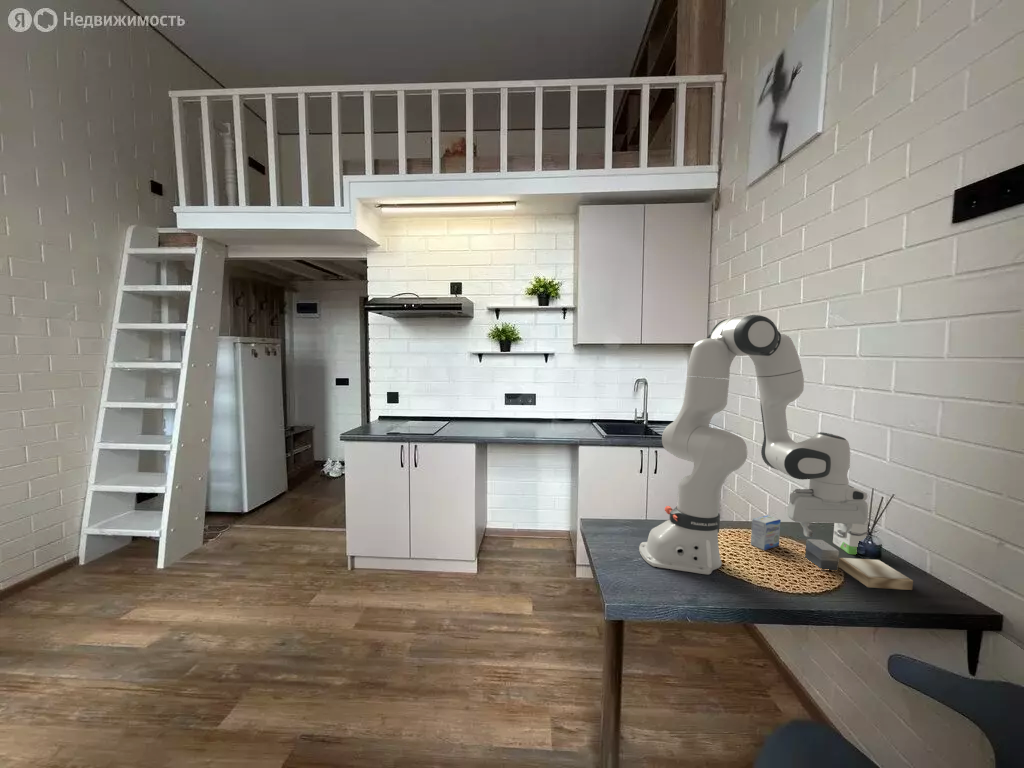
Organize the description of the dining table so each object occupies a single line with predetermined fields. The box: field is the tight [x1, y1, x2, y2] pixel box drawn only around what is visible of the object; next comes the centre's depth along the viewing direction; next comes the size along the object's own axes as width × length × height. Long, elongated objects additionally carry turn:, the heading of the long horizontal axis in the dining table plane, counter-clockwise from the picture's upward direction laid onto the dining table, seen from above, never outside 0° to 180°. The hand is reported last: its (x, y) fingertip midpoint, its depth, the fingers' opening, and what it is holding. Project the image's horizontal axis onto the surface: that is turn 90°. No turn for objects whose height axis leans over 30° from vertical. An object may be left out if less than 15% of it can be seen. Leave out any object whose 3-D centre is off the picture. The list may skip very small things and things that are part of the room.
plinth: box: [838, 557, 914, 591], centre depth 115 cm, size 11×11×3 cm
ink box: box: [832, 518, 869, 556], centre depth 133 cm, size 9×5×12 cm, turn 171°
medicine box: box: [750, 515, 782, 551], centre depth 133 cm, size 8×4×9 cm, turn 117°
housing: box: [804, 538, 840, 571], centre depth 122 cm, size 4×7×6 cm, turn 176°
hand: (824, 536), depth 122 cm, fingers open, 8 cm apart
